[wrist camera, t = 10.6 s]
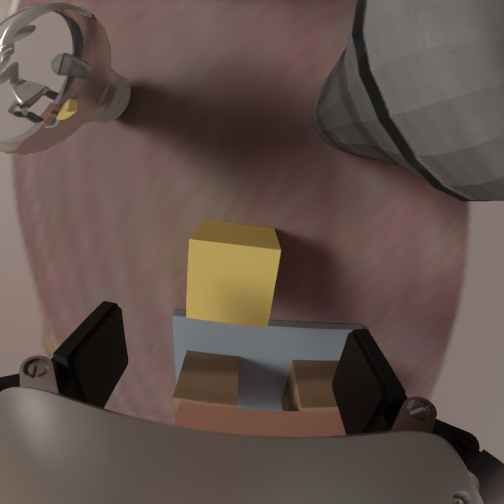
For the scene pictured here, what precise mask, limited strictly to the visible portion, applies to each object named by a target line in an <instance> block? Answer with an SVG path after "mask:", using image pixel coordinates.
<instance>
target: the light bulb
mask: <svg viewBox="0 0 504 504" xmlns="http://www.w3.org/2000/svg"><path fill="white" fill-rule="evenodd" d="M130 95H131V89H130V85H129V83H128V81H127V80H126V79H125V78H124V77H123V76H121V75H119V74H118V73H116V72H114V70H113V68H112V67H111V46H110V42H109V39H108V36H107V33H106V31H105V28H104V27H103V25H102V24H101V23H100V21H99V20H98V19H97V18H96V17H95V15H94V14H92V13H91V12H90V11H88V10H87V9H85V8H83V7H81V6H79V5H77V4H73V3H69V2H63V1H50V2H43V3H37V4H34V5H31V6H29V7H26V8H24V9H22V10H19V11H17V12H15V13H14V14H12V15H11V16H9V17H8V18H6V19H5V20H4V21H3V22H1V23H0V151H1V152H3V153H6V154H23V155H26V154H30V153H35V152H39V151H43V150H46V149H48V148H50V147H52V146H54V145H56V144H58V143H60V142H62V141H64V140H65V139H66V138H68V137H69V136H70V135H72V134H73V133H74V132H75V131H77V130H78V129H79V128H80V127H81V126H82V125H83V124H84V123H88V122H90V121H93V122H99V123H107V122H110V121H113V120H115V119H116V118H118V117H119V116H120V115H121V114H122V113H123V112H124V110H125V109H126V107H127V105H128V103H129V100H130Z"/></svg>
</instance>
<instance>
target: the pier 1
mask: <svg viewBox="0 0 504 504" xmlns="http://www.w3.org/2000/svg"><path fill="white" fill-rule="evenodd" d="M239 360H240V356H232V355H222V354H213V353H205V352H197V351H190V350H187V351H186V355H185V358H184V361H183V365H182V368H181V371H180V375H179V378H178V381H177V385H176V388H175V392H174V395H173V402H174V411H175V418H176V416H177V412H178V408H179V404H180V401H185V402H191V403H197V404H204V405H212V406H220V407H229V408H237V398H238V379H239Z"/></svg>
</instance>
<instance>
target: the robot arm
mask: <svg viewBox="0 0 504 504" xmlns="http://www.w3.org/2000/svg"><path fill="white" fill-rule="evenodd" d="M53 355H54V357H53V358H52V359H51V360H50V359H49V358H47V357H45V356H32V357H29V358H27V359H26V360H25V361H23V362H22V364H21V365H20V370H19V372H20V374H15V375H10V376H5V377H0V504H504V463H502V462H501V461H500V460H498V459H497V458H495V457H494V456H493V455H491V454H490V453H488V452H487V451H486V450H482V451H479V442H478V440H477V439H476V437H475V436H474V435H473V434H471V433H469V432H466V431H464V430H461V429H459V428H457V427H454V426H451V425H449V424H447V423H445V422H442V421H440V420H438V419H436V416H437V411H436V408H435V406H434V405H433V404H432V403H431V402H430V401H429V400H427V399H425V398H422V397H410V398H407V396H406V395H405V390H404V388H403V387H402V385H401V383H400V382H399V380H398V378H397V376H396V375H395V373H394V371H393V370H392V368H391V366H390V365H389V363H388V361H387V360H386V358H385V357H384V355H383V353H382V352H381V350H380V348H379V347H378V345H377V344H376V342H375V340H374V339H373V337H372V336H371V334H370V332H369V331H368V330H367V329H353V331H352V332H349V333H348V335H347V339H346V342H345V345H344V348H343V351H342V354H341V357H340V360H339V363H338V366H337V369H336V372H335V375H334V377H333V380H332V390H333V393H334V396H335V399H336V403H337V406H338V409H339V413H340V416H341V419H342V423H343V426H344V429H345V433H346V435H335V436H311V437H280V436H256V435H242V434H231V433H221V432H213V431H205V430H198V429H192V428H185V427H180V426H174V425H169V424H164V423H159V422H154V421H150V420H145V419H141V418H137V417H133V416H129V415H125V414H122V413H118V412H115V411H111V410H108V409H104V406H105V404H106V403H107V401H108V399H109V397H110V395H111V394H112V392H113V390H114V388H115V386H116V385H117V383H118V381H119V379H120V377H121V376H122V374H123V372H124V370H125V369H126V367H127V364H128V354H127V348H126V341H125V334H124V326H123V318H122V310H121V308H120V307H118V305H117V304H116V303H112V302H107V301H104V302H102V303H101V304H100V305H99V306H98V307H97V308H96V309H95V310H94V311H93V312H92V313H91V314H90V315H89V316H88V317H87V318H86V319H85V320H84V321H83V322H82V323H81V324H80V326H79V327H78V328H77V329H76V330H75V331H74V332H73V333H72V334H71V335H70V336H69V337H68V338H67V339H66V340H65V341H64V342H63V343H62V345H61V346H60V347H59V348H58V349H57V350H56V351H55V352H54V353H53Z"/></svg>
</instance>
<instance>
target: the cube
mask: <svg viewBox="0 0 504 504" xmlns="http://www.w3.org/2000/svg"><path fill="white" fill-rule="evenodd" d="M280 254H281V248H280V245H279V242H278V239H277V235H276V232H275V229H274V228H269V227H261V226H253V225H245V224H237V223H228V222H220V221H211V220H203V221H202V223H201V224H200V225H199V227H198V228H197V229H196V231H195V232H194V234H193V235H192V236H191V238H190V239H189V255H188V275H187V304H186V318H192V319H200V320H207V321H215V322H222V323H231V324H240V325H249V326H259V327H268V322H269V316H270V311H271V306H272V300H273V294H274V289H275V283H276V278H277V272H278V266H279V260H280Z"/></svg>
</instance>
